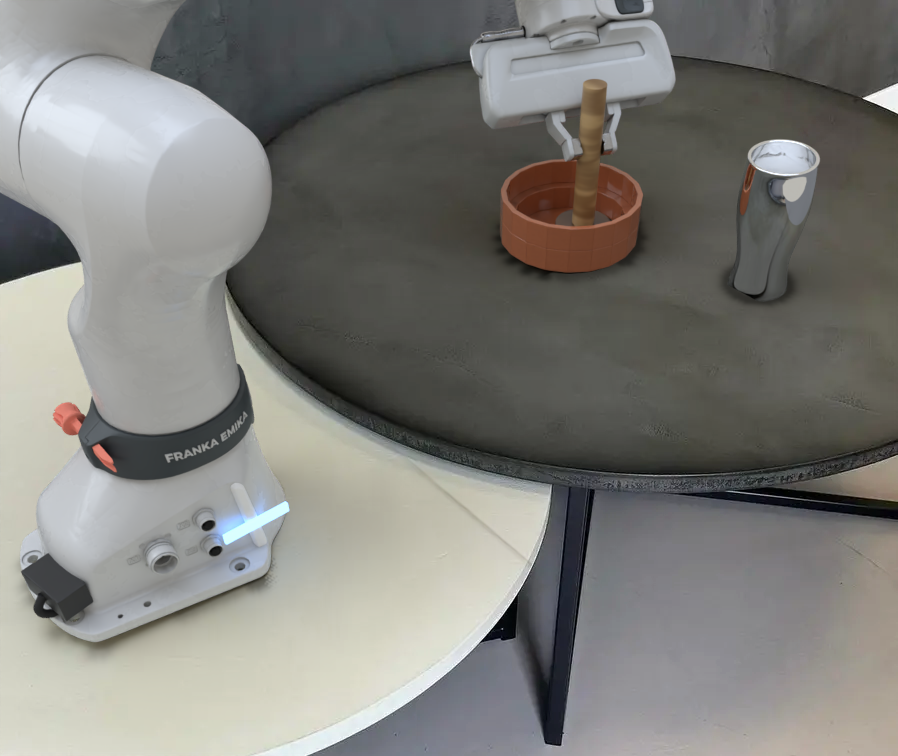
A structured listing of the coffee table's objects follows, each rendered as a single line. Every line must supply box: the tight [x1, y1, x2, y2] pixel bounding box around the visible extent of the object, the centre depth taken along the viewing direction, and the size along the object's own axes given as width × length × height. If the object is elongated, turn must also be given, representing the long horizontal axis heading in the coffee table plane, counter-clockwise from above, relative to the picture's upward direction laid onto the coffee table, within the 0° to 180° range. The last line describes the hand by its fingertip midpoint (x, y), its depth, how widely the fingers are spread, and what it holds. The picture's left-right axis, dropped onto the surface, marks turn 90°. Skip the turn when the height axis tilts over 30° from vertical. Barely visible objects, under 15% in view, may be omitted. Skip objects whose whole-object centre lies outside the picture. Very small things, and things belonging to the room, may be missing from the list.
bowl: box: [499, 158, 644, 273], centre depth 109 cm, size 15×15×6 cm
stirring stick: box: [555, 79, 611, 226], centre depth 102 cm, size 6×6×16 cm
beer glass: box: [727, 138, 821, 302], centre depth 98 cm, size 7×7×15 cm
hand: (591, 156), depth 101 cm, fingers closed on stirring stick, 2 cm apart
